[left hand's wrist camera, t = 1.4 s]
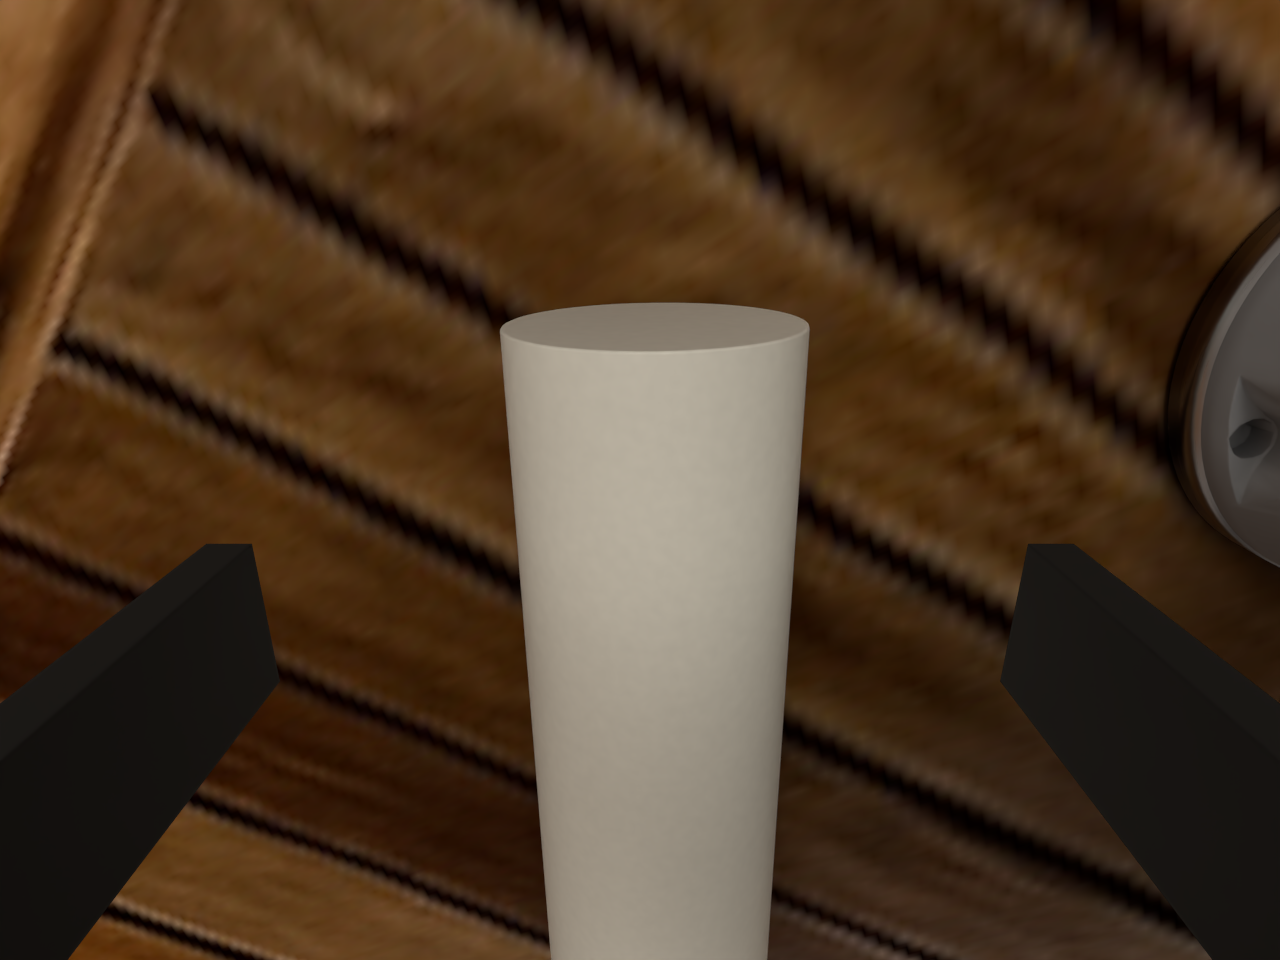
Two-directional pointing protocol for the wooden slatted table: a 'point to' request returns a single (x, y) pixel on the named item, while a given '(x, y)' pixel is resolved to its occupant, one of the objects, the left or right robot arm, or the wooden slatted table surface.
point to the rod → (656, 614)
